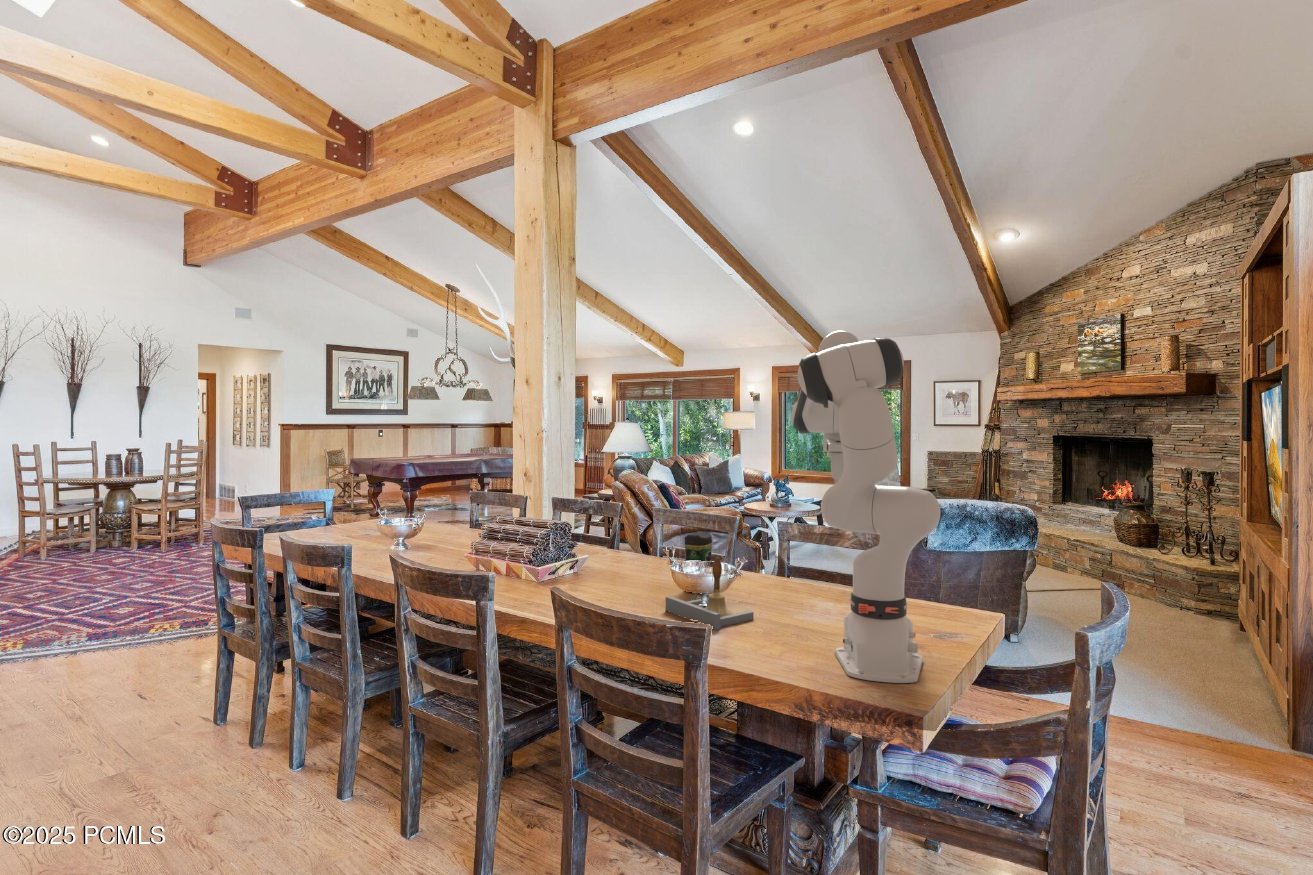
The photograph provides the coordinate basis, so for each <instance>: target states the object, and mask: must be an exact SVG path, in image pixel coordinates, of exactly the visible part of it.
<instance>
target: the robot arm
mask: <svg viewBox="0 0 1313 875" xmlns="http://www.w3.org/2000/svg"><path fill="white" fill-rule="evenodd" d="M898 345H899V344H897V342H896V341H895V340H893V339H891V338H888V337H874V338H872V339H869V340H862V341H860V340H859V339H858V337H857V336H856V335H855V334H853V333H851V332H850V331H847V330H846V331H845V330H836V331H832V332H831V333H828V334H827V335H826V336H824V338H823V339H822V341H821V342H820V344H819V346H818V350H817V352H813V353H809V354H808V355H806V356H804V357H802V358H801V359H800V361H799V364H798V370H797V381H798V385H799V389H798V393H797V396H796V399H795V401H794V404H793V406H792V409H791V415H790V416H791V423H792V426H793V427H794V429H795V430H796V431H797V432H799V433H800V434H801V435H802V434H813V433H814V434H823V444H822V447H823V448H822V450H823V451H822V452H827V458H830V467H831V468H830V469H831V470H830V474H831V475H830V476H831V477H832V480H833V485H832V486H829V488H828V489H827V490H826V491H825V492H824V494H823V496H822V499H821V503H820V509H821V510H820V511H821V516H822V518H823V519H824V521H825V523H826V525H828V526H829V527H831V528H834V529H838V530H841V531H845V532H849V533H861V534H863V533H864V534H873V535H874V534H875V535H879V543H878V545H876V546H873V547H871V548H869V549H865V550H864V551H862V552H860V553H859V554H857V555H856V557H855V558H854V560H853V562H852V592H851V593H850V600H849V602H850V610H851V611H850V612H849V613H848V614H847V615H845V617H843V639H842V642H843V646H841V647H840V646H839V647H836V648H835V649H834V654H835V657H836V659H837V660H838V661H839V663H840V665H841V667H842V668H843V670H844V672H845V673H846V675H847V676H849V677H852V678H856V679H859V680H864V681H865V680H866V681H872V682H880V683H881V682H882V683H891V684H893V683H895V684H909V683H911V684H912V683H917V682H918V681H919V677H920V674H921V670H922V666H923V662H924V659H923V655H922V654H919V653H918V642H916V641H913V639H916V632H915V631H913V629H914V628H913V626H914V625H913V621H911V619H910V618H909V617H907V614H908V613H907V610H908V609H907V608H908V602H907V597H906V595H905V579H906V568H907V562H908V559H909V557H910V554H911V552H912V550H913V549H914V548H915V547H916V546H917V544H918V543H919V542H921V541H922V540H923V539H924V538H926V537H927V536H928V535H931V533H932V532H934V530H935V529H936V528H937V526H938V525H939V522H940V519H941V508H940V503H939V501H938V499H937V498H936V496H935V495H934V493H932V492H931V491H929V490H925V489H921V488H918V487H912V486H903V485H902V486H900V485H899V486H898V485H881V484H880V485H879V484H878V483H880V482H882V481H884V480H885V479H888V477H889V476H891V475H892V474H893V473H894V472H895V471H896V468H897V467H898V462H899V459H898V450H897V445H896V444H897V443H896V437H895V431H894V430H895V429H894V424H893V419H892V415H891V411H890V409H889V406H888V403H887V400H886V398H885V396H884V394H883V393H882V392H881V390H879V388H882V387H886V388H887V387H888V386H891V385H894V384H895V383H897V382H899V381H900V380H901V378H902V376H903V374H904V366H905V364H904V363H905V362H904V355H903V353H902V351H901V349H900V348H899V346H898Z"/></svg>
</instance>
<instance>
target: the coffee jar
mask: <svg viewBox="0 0 1313 875" xmlns="http://www.w3.org/2000/svg"><path fill="white" fill-rule="evenodd" d="M712 548H713V537H712V534H711V533H710V532H709V531H702V530H701V531H699V530H698V531H696V532H692V533H689V534H687V535H685V536H684V550H685V561H686V560H701V561H711V562H712V563H713V561H712V558H713V557H712V551H713V550H712Z"/></svg>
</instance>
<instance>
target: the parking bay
mask: <svg viewBox="0 0 1313 875" xmlns="http://www.w3.org/2000/svg"><path fill="white" fill-rule="evenodd" d="M701 599H702V598H699V599H694V600H687V601H685V600H682V599H680V598H677V597H673V596H671V595H670V596H665V611H666V610H667V611H670V612H672V613H675V614H676V615H675V614H674V615H675V616H677V615H680V616H682V617H686V619H685V620H688V619H693V620H698V621H695V622H701V623H704V624H710V625H711V626H713V629H712V630H714V631H718V630H721V628H722V627H726V626H731V625H735V624H740V623H744V622H748V621H754V618H755V617H754V615H755V614H754V611H751V610H748V611H743V612H739V613H738V612H737V613H733V614H731V615H728V616H723V617H720V614H719V613H717V612H714V611H711V610H708V609H705V608H706V607H700V606H698V605H699V604H701V602H702V601H703V600H701ZM667 611H666V612H667ZM670 612H669V613H670ZM672 613H671V614H672ZM680 616H679V617H680ZM682 617H681V618H682ZM695 622H694V623H695Z"/></svg>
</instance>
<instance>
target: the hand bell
mask: <svg viewBox="0 0 1313 875" xmlns="http://www.w3.org/2000/svg"><path fill="white" fill-rule="evenodd" d="M712 563H713V564H712V578H713V592H712V593H710V594H709V595H708V597H707V598H708V603H707V606H706V607H704V608H705V609H708V610H711V611H714V612H717V613H719V614H720V617H723V616H728V615H732V612H731V611H730V610H729V609H728V607H727V604H726V600H725V599H726V598H725V594H722V593H721V592H720V589H721V588H720V586H721V584H720V582H721V581H720V580H721V576H722V572H723V569H722V568H723V567H722V566H723V565H722V563H721V558H720V557H719V556H717V557H716V556H715V557H714V561H713V562H712Z"/></svg>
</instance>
